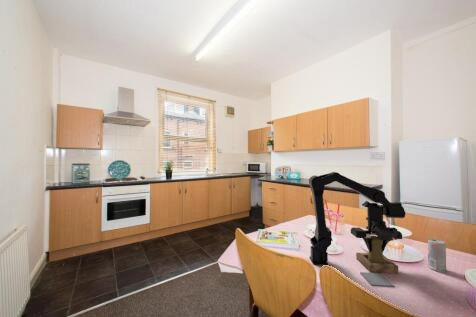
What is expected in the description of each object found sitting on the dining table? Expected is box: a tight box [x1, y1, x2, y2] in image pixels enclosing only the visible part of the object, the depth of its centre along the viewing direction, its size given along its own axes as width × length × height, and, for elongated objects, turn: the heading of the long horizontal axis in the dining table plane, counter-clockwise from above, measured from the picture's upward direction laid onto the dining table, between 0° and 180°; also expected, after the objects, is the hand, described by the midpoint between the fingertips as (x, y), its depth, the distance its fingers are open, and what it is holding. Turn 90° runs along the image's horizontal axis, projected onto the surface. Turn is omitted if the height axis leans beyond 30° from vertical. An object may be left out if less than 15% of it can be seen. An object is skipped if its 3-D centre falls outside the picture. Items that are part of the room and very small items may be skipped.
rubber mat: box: [359, 271, 395, 288], centre depth 75 cm, size 8×8×1 cm
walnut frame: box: [355, 252, 399, 274], centre depth 85 cm, size 11×11×3 cm
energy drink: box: [427, 238, 447, 274], centre depth 82 cm, size 5×5×12 cm
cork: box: [368, 235, 384, 264], centre depth 85 cm, size 6×6×11 cm
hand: (375, 252), depth 85 cm, fingers closed on cork, 4 cm apart
